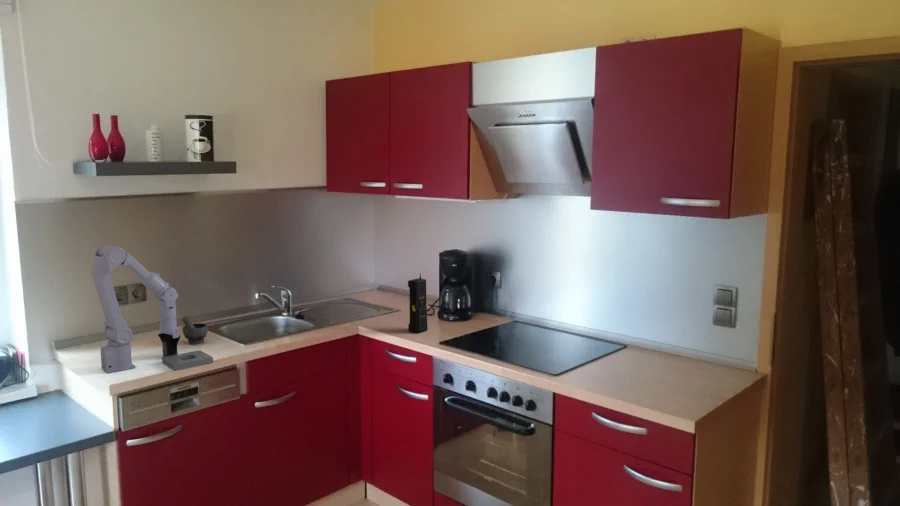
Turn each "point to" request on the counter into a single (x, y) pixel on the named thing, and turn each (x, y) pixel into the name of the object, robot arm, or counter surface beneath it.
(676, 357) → the counter surface
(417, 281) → the portable radio
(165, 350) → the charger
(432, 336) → the counter surface
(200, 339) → the mortar and pestle
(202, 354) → the plate
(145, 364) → the counter surface
